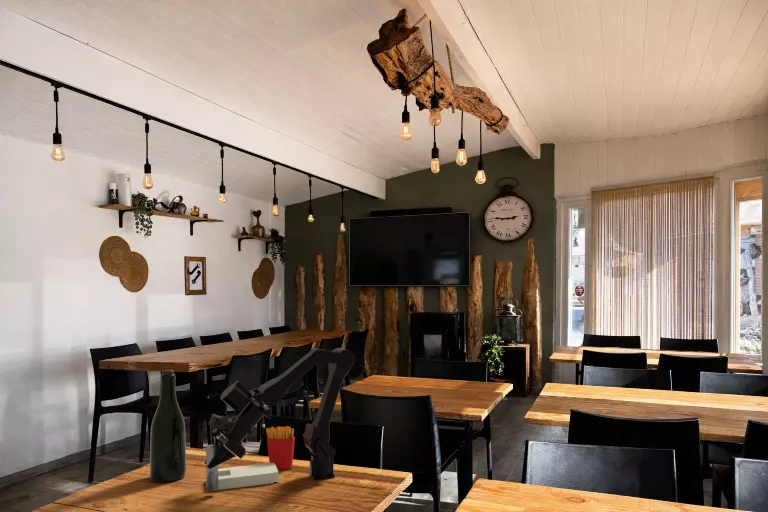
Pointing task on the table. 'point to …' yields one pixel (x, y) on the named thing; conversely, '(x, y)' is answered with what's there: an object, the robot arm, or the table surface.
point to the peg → (213, 472)
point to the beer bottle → (167, 435)
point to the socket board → (247, 475)
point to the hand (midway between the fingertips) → (207, 466)
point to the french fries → (281, 446)
